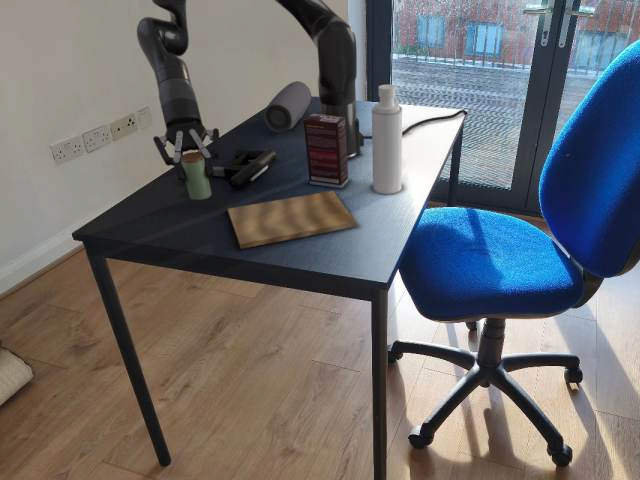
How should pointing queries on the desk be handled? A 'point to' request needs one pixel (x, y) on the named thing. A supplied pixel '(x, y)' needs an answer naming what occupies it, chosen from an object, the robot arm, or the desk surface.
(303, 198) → the oak board
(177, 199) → the desk surface
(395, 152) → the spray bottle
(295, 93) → the bluetooth speaker
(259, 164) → the door handle
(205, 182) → the salt pot
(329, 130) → the supplement box
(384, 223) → the desk surface
